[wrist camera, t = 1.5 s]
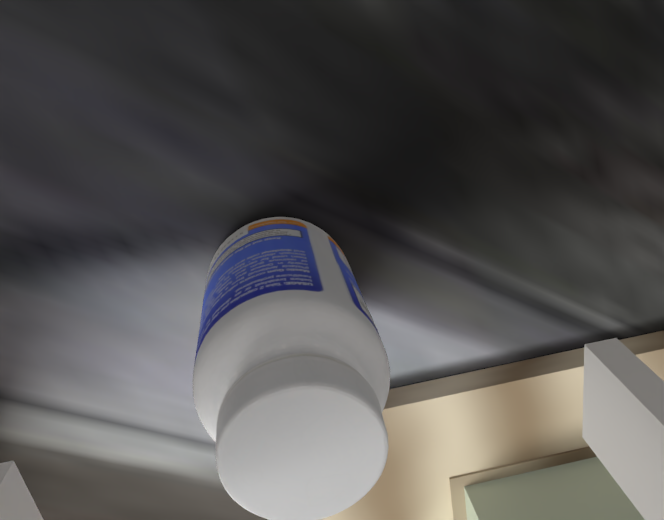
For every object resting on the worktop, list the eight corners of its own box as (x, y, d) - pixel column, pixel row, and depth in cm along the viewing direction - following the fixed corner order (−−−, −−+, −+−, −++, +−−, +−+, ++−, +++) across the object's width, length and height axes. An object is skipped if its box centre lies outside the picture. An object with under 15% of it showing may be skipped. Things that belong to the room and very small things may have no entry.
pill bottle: (183, 310, 22) (138, 512, 13) (246, 187, 20) (243, 321, 11) (309, 360, 23) (345, 571, 15) (376, 250, 22) (462, 410, 13)
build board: (317, 630, 30) (320, 655, 29) (261, 416, 24) (262, 437, 23) (683, 544, 31) (700, 565, 30) (711, 320, 25) (733, 335, 24)
